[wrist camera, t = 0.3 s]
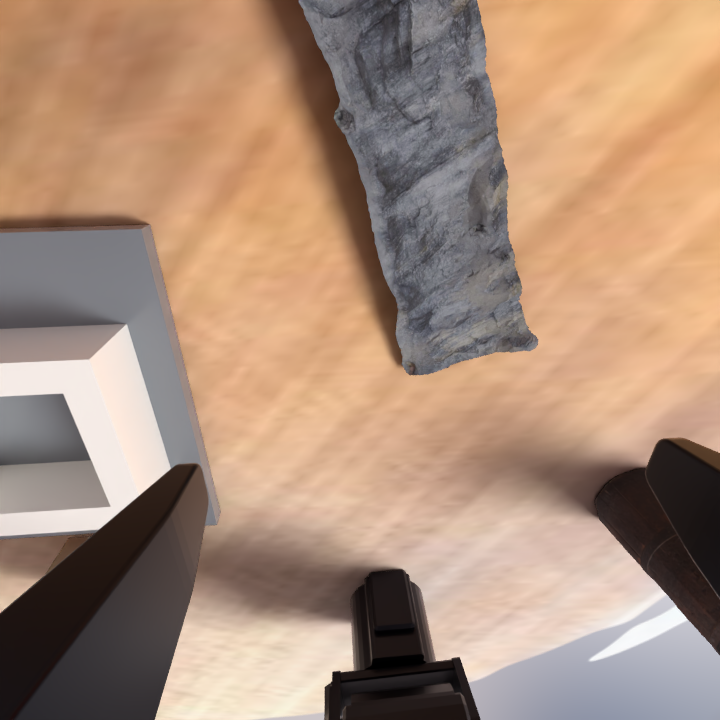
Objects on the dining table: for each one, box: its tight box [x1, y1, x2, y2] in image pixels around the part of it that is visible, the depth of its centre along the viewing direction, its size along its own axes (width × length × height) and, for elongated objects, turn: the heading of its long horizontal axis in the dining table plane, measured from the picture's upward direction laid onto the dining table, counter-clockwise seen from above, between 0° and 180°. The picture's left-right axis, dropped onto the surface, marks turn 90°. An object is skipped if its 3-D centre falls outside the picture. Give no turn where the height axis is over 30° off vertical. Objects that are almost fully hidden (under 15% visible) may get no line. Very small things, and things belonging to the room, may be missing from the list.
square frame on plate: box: [0, 225, 220, 540], centre depth 20 cm, size 18×14×4 cm
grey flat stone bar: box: [299, 0, 538, 375], centre depth 17 cm, size 21×7×2 cm, turn 18°
